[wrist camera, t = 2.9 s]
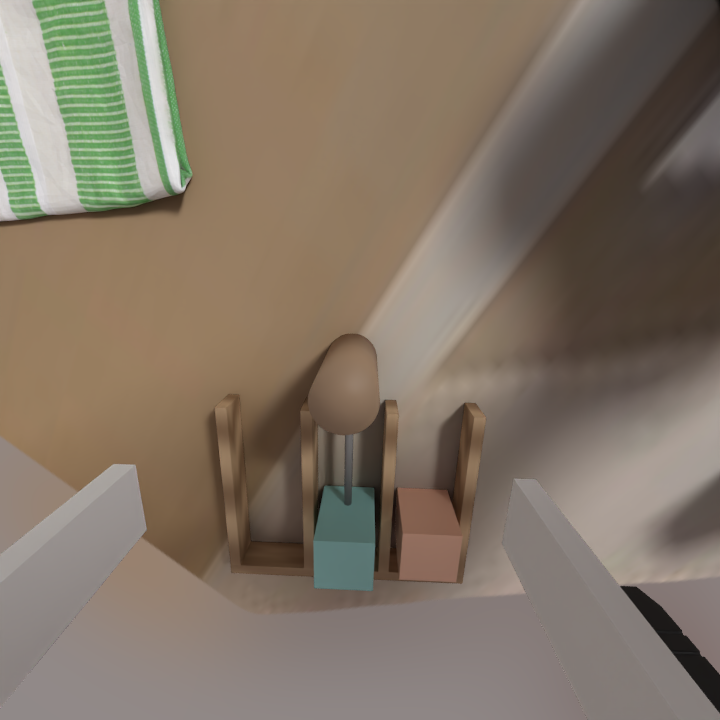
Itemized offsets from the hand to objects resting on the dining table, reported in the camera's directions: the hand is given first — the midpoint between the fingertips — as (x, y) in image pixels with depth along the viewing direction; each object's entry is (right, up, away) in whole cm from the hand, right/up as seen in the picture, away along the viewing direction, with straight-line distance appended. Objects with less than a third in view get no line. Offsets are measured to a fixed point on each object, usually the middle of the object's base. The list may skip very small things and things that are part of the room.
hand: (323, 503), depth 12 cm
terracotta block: (+7, -10, +23) cm, 26 cm away
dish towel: (-24, +25, +14) cm, 38 cm away
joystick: (0, -3, +21) cm, 21 cm away
